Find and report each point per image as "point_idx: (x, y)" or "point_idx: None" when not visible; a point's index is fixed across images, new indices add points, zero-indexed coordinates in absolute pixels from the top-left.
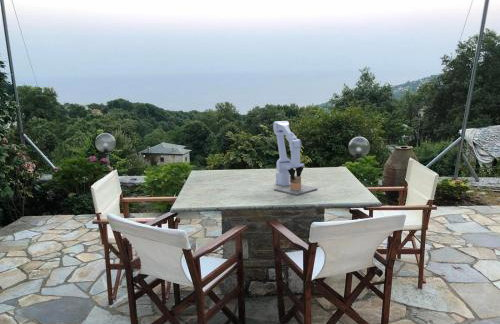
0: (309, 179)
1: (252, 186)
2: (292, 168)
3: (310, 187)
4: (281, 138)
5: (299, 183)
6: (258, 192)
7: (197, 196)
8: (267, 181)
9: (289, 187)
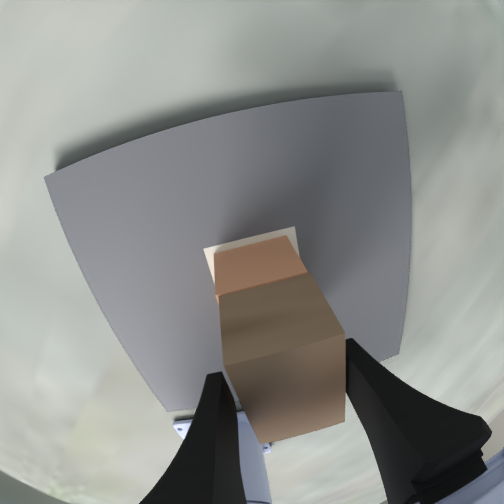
0: (39, 429)
1: None
2: (450, 489)
3: (91, 248)
4: None
5: (252, 282)
6: (469, 332)
7: None
8: None
9: None
